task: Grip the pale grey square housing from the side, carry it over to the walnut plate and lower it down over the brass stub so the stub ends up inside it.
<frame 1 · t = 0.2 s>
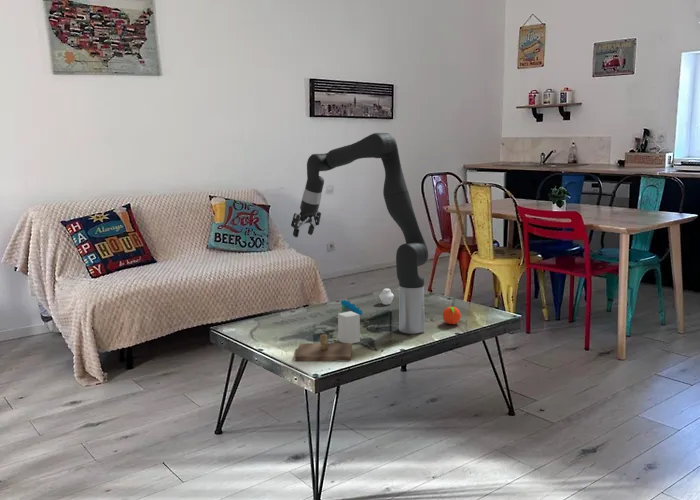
hand: (302, 235, 260), 31 cm above the table, tool tilted 20°, fingers open, 8 cm apart
housing: (349, 341, 218), on the table
base plate: (324, 354, 206), on the table
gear: (350, 317, 249), on the table
clementine: (451, 325, 236), on the table
white vase: (386, 304, 267), on the table
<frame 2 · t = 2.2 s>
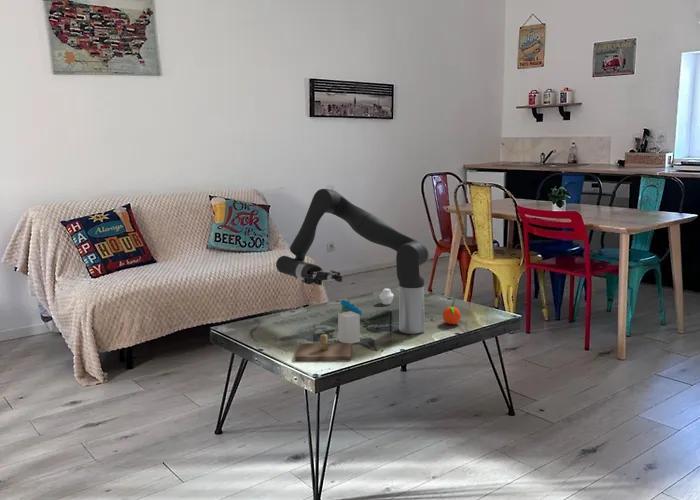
hand: (331, 280, 224), 20 cm above the table, tool horizontal, fingers open, 8 cm apart
nothing on the table moved.
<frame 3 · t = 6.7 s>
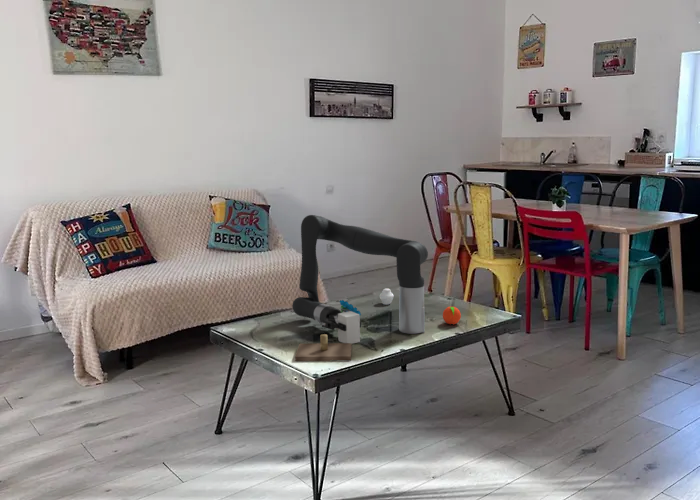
hand: (352, 326, 215), 6 cm above the table, tool horizontal, fingers closed on housing, 5 cm apart
housing: (349, 341, 218), on the table, touching gripper
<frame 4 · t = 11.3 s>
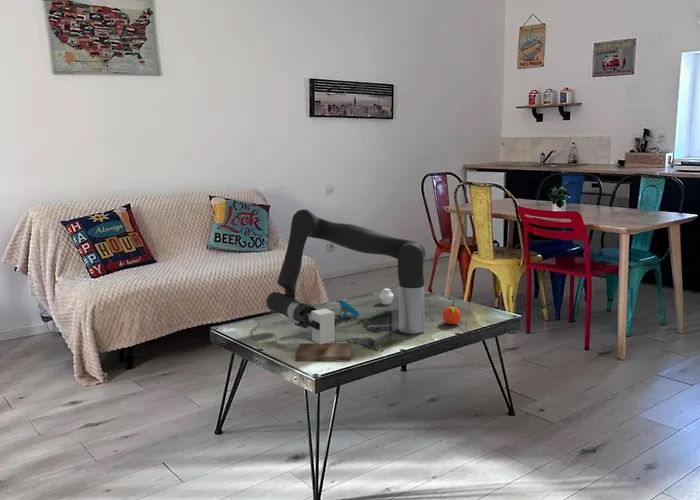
hand: (327, 325, 202), 11 cm above the table, tool horizontal, fingers closed on housing, 5 cm apart
housing: (323, 340, 205), point 5 cm above the table, touching gripper
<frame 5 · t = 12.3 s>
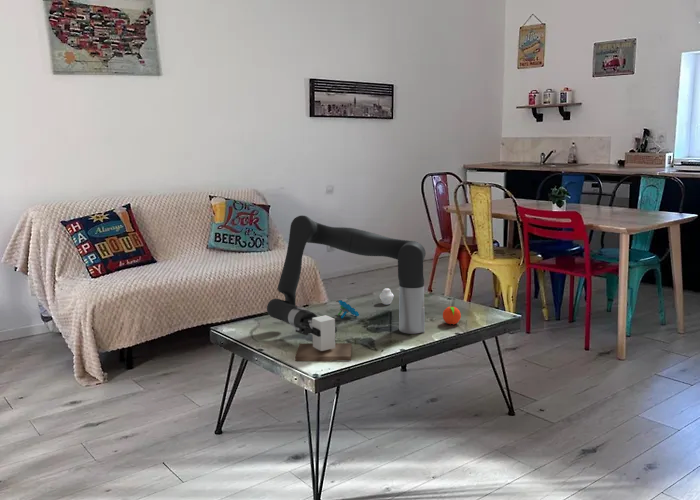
hand: (327, 331, 202), 8 cm above the table, tool horizontal, fingers closed on housing, 5 cm apart
housing: (324, 347, 205), point 2 cm above the table, touching gripper
when the fingers open (8 cm above the table, at t = 12.4 s): housing stays where it is, resting on base plate.
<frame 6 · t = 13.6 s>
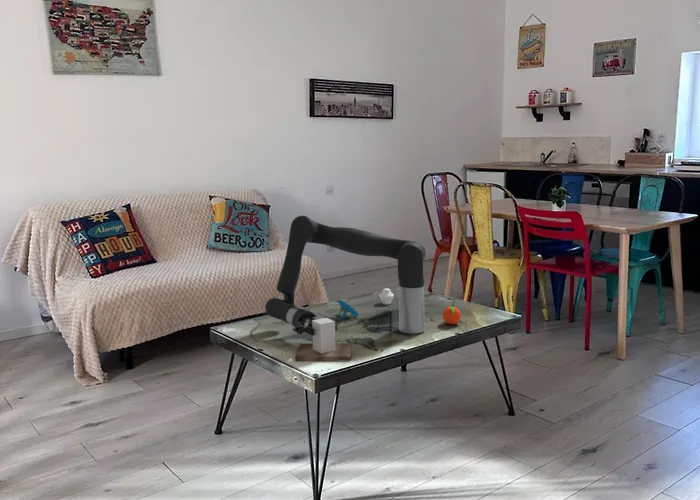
hand: (325, 330, 203), 8 cm above the table, tool horizontal, fingers open, 8 cm apart
housing: (324, 349, 205), point 1 cm above the table, touching base plate
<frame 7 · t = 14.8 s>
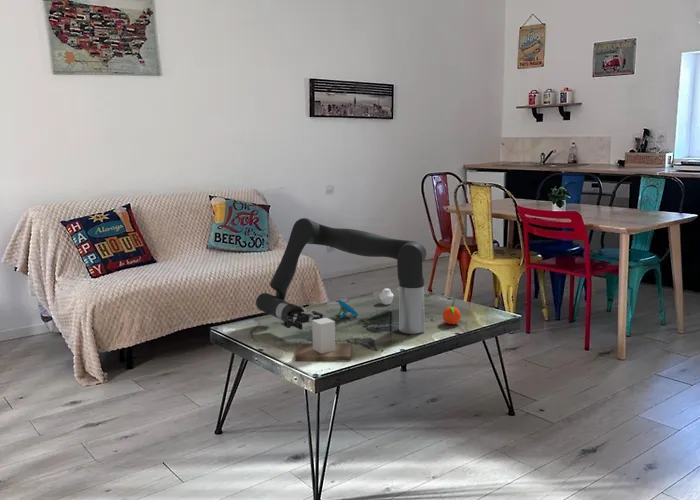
hand: (312, 324, 210), 9 cm above the table, tool horizontal, fingers open, 8 cm apart
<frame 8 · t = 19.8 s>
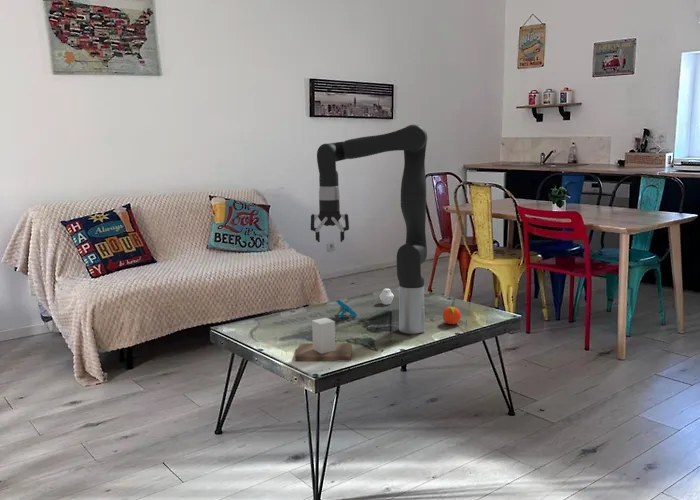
hand: (330, 241, 229), 33 cm above the table, tool pointing down, fingers open, 8 cm apart
at the end: housing 0.0 cm off-centre on the base plate, point 1.5 cm above the base plate's base; housing tilted 0°; the gripper is holding nothing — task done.
